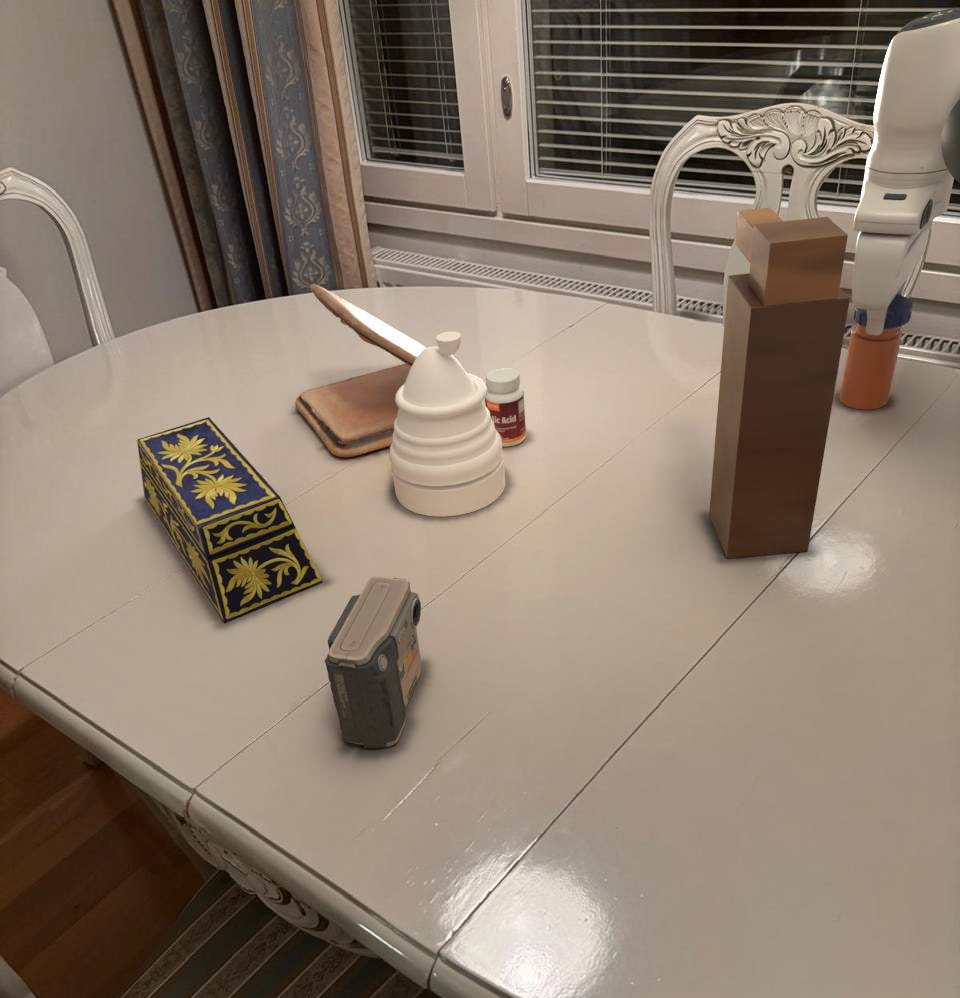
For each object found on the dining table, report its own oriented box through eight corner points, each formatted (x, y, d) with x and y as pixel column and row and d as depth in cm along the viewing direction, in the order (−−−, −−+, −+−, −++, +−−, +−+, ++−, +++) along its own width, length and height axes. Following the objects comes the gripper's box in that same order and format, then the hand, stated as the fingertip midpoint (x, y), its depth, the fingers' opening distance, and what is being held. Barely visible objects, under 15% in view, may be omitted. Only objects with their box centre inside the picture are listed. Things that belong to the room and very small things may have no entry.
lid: (846, 312, 109) (848, 298, 108) (897, 304, 108) (899, 290, 107) (866, 332, 104) (868, 318, 103) (919, 324, 104) (922, 309, 103)
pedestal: (708, 515, 97) (728, 275, 81) (785, 508, 96) (819, 265, 80) (726, 559, 90) (751, 307, 74) (808, 551, 90) (850, 297, 74)
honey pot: (520, 464, 109) (509, 314, 97) (483, 522, 100) (467, 365, 88) (421, 454, 113) (399, 309, 101) (377, 509, 104) (348, 357, 92)
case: (490, 419, 118) (479, 294, 108) (338, 465, 112) (310, 338, 102) (429, 366, 133) (414, 252, 123) (291, 404, 127) (263, 288, 117)
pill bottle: (484, 447, 113) (478, 382, 107) (493, 428, 116) (487, 365, 111) (522, 448, 112) (517, 383, 106) (529, 429, 115) (526, 366, 110)
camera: (395, 756, 74) (374, 664, 68) (330, 746, 76) (304, 655, 69) (437, 663, 82) (423, 573, 76) (378, 656, 84) (359, 568, 78)
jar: (896, 397, 113) (913, 318, 106) (872, 414, 110) (889, 333, 104) (854, 385, 116) (868, 308, 110) (830, 401, 113) (844, 323, 107)
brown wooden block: (718, 245, 87) (722, 189, 84) (782, 239, 86) (789, 182, 83) (763, 306, 74) (770, 242, 71) (838, 299, 74) (848, 234, 71)
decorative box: (224, 623, 90) (198, 547, 84) (144, 499, 111) (119, 431, 105) (324, 582, 94) (305, 507, 88) (229, 469, 114) (208, 403, 109)
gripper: (896, 166, 105) (875, 287, 114) (850, 219, 93) (830, 351, 101) (956, 168, 103) (930, 292, 111) (916, 222, 90) (890, 358, 99)
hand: (882, 320), depth 106 cm, fingers closed on lid, 6 cm apart
